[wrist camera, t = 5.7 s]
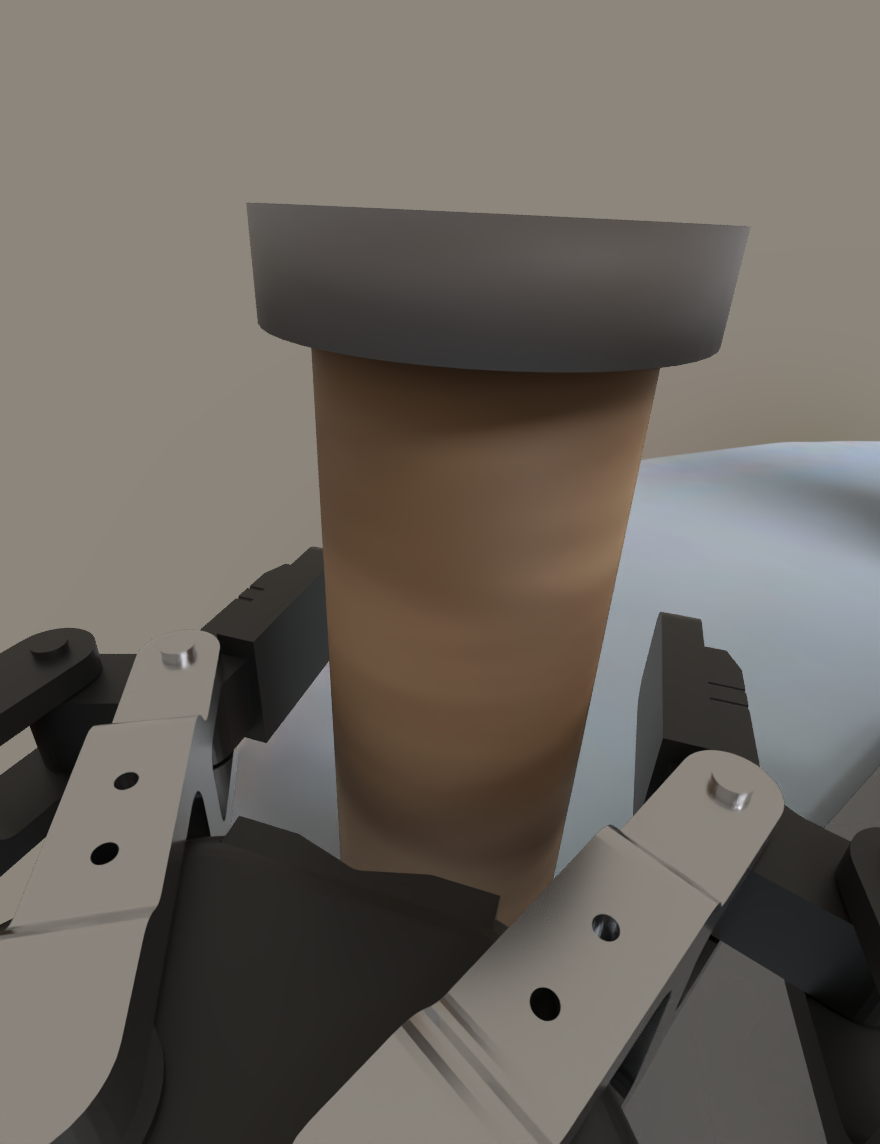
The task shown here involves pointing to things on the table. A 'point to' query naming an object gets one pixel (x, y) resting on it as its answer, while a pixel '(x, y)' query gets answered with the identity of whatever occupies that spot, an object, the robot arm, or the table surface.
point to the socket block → (738, 1048)
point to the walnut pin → (476, 499)
